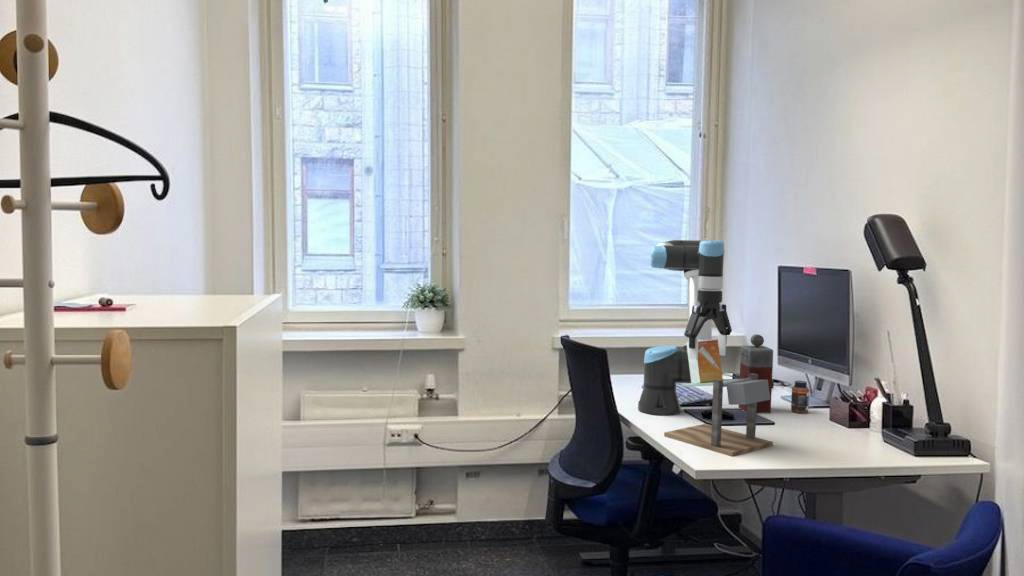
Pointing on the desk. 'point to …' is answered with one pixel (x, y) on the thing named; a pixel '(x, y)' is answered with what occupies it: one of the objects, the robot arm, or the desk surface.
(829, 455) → the desk surface
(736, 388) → the trapdoor
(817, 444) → the desk surface
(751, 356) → the red and grey canister
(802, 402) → the supplement bottle
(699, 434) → the frame
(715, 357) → the small box
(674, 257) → the robot arm
